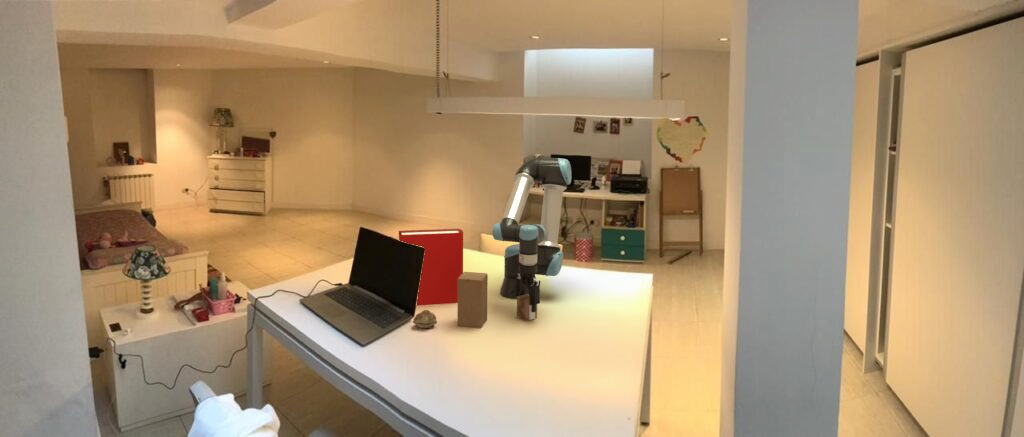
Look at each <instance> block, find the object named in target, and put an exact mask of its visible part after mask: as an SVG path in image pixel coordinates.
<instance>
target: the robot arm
mask: <svg viewBox="0 0 1024 437" xmlns="http://www.w3.org/2000/svg"><path fill="white" fill-rule="evenodd" d="M513 179H514V184H513V186H512V190H511V193H510V196H509V199H508V202H507V204H506V207H505V210H504V213H503V216H502V219H501V222H496V223H494V225H492V226H493V227H492V237H493V239H494V241H500V242H512V243H515V244H512V245H509V246H507V247H505V249H504V256H503V258H504V269H503V270H504V275H503V277H504V278H503V281H502V284H501V287H500V289H499V290H500V292H499V294H500V295H501V296H502V297H505V298H509V299H516V300H517V296H521V295H525V294H529V297H530V303H531V304H529V320H528V321H531V319H532V320H535V319H536V318H535V312H536V304H537V305H539V304H540V303H541V291H540V290H541V288H540V286H541V280H538V279H537V278H536V275H537V276H546V277H556V276H558V274H559V273H560V272H561V269H562V266H563V263H564V256H565V255H564V251H562V250H561V246H560V245H559V244H558V242H559V232H560V223H561V214H562V212H561V211H562V204H563V193H564V192H565V190H567V188H568V185H571V182H572V166H571V163H570V161H569V160H568V159H566V158H560V157H541V156H536V157H532V158H530V159H528V160H526V161H525V162H524V163H522V165H521V166H520V167H519V168H518V169H517V171H516V173H515V175H514V178H513ZM535 183H541V187H542V189H543V190H544V191H543V197H542V198H543V200H542V208H541V218H540V219H541V220H540V224H538V223H537V224H532V225H531V224H520V221H521V219H522V218H521V217H522V215H523V212H524V209H525V206H526V203H527V200H528V197H529V194H530V192H531V188H532V187H534V186H535Z"/></svg>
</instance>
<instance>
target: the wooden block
mask: <svg viewBox="0 0 1024 437" xmlns="http://www.w3.org/2000/svg"><path fill="white" fill-rule="evenodd" d="M488 276H489V275H488V273H486V272H475V271H474V272H473V271H463V274H462V275H461V276H460V277H459V278H458V303H457V326H458V327H467V328H469V327H470V328H478V329H479V328H480V329H481V328H483V326H484V325H485V323H486V321H487V320H488Z"/></svg>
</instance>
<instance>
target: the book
mask: <svg viewBox="0 0 1024 437" xmlns="http://www.w3.org/2000/svg"><path fill="white" fill-rule="evenodd" d="M399 240H400V241H403V242H406V243H409V244H414V245H418V246H422V247H424V248H425V255H424V261H423V267H422V273H421V280H420V285H419V292H418V299H417V306H432V305H434V306H435V305H446V304H458V278H459V277H460V276H461V275H462V274H463V273H464V231H463V230H462V229H461V228H442V229H440V228H438V229H418V230H417V229H416V230H415V229H414V230H413V229H412V230H398V241H399ZM417 306H416V307H417Z"/></svg>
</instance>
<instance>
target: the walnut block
mask: <svg viewBox="0 0 1024 437" xmlns="http://www.w3.org/2000/svg"><path fill="white" fill-rule="evenodd" d="M529 304H531V303H530V297H529V294H525V295H521V296H517V299H516V318H518V319H520V320H522V321H525V322H528V321H531V320H533V319H531V320H529ZM537 318H538V304H536V312H535V319H537Z"/></svg>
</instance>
